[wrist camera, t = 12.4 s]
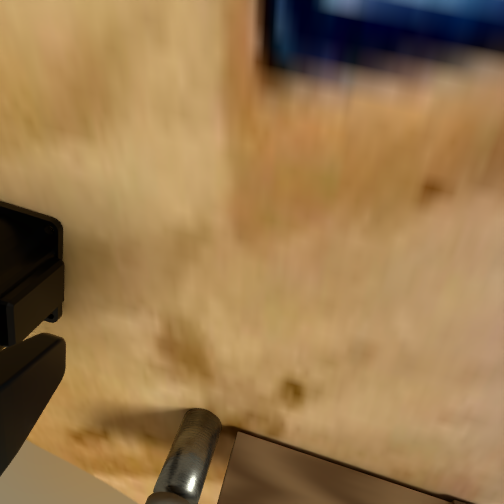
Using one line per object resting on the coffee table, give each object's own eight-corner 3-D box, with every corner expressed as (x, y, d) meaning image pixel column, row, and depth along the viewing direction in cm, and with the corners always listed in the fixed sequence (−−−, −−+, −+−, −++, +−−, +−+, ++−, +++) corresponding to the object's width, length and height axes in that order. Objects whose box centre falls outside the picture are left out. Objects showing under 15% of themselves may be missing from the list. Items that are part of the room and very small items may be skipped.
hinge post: (181, 429, 27) (151, 502, 23) (187, 403, 26) (156, 476, 22) (217, 441, 27) (193, 517, 23) (224, 416, 26) (201, 491, 22)
